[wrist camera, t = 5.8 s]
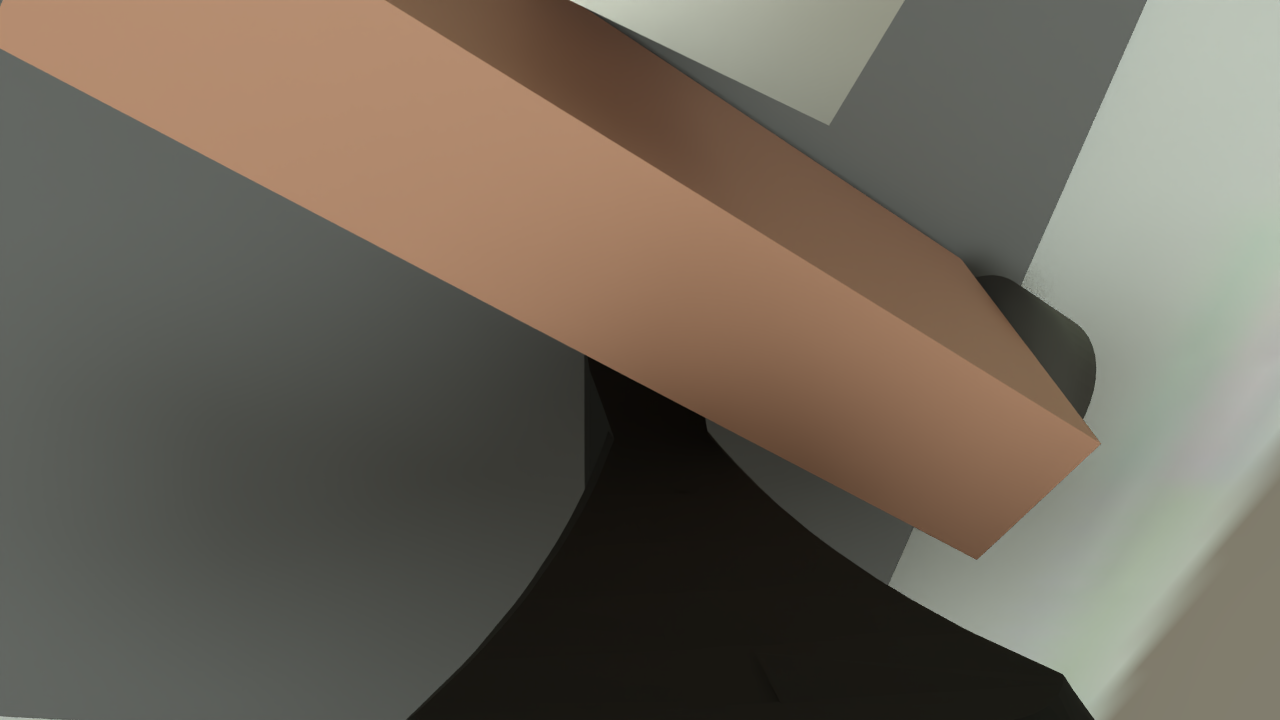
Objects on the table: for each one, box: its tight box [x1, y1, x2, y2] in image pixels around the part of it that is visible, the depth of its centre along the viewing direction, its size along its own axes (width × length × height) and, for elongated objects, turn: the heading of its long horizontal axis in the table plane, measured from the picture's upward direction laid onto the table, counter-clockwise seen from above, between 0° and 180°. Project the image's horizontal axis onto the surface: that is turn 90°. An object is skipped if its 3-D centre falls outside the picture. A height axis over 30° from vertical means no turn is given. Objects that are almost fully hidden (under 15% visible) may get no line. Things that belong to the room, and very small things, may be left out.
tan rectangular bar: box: [0, 0, 1101, 560], centre depth 10 cm, size 10×2×4 cm, turn 55°
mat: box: [0, 0, 1147, 720], centre depth 12 cm, size 16×19×1 cm
